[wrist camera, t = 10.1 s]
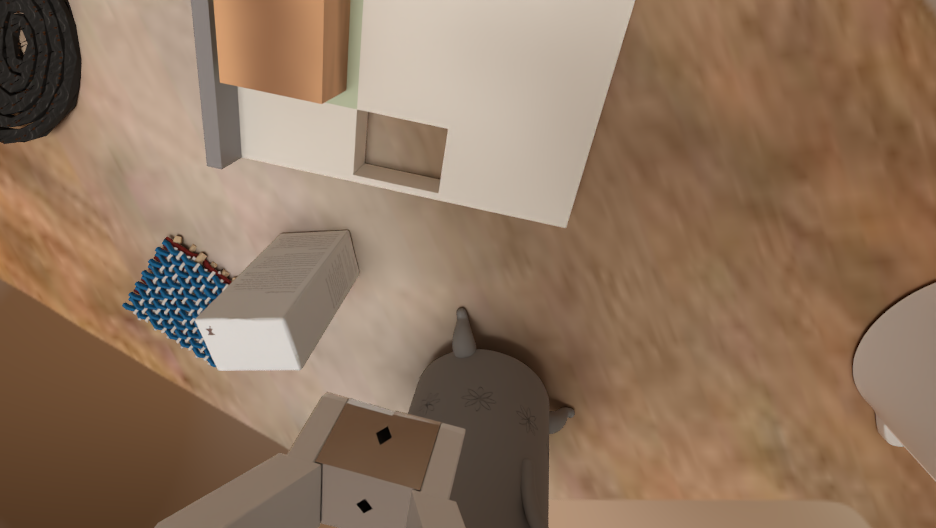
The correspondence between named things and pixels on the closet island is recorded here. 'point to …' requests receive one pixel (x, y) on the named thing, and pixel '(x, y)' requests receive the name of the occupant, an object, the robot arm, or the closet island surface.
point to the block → (284, 46)
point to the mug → (493, 431)
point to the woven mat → (178, 294)
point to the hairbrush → (37, 67)
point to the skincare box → (280, 303)
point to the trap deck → (440, 99)
